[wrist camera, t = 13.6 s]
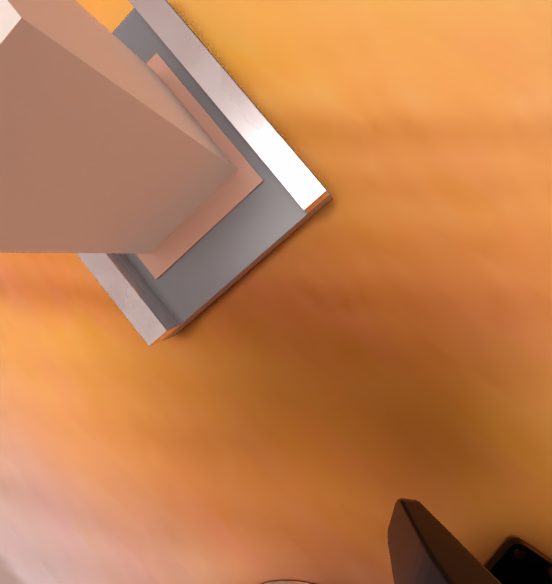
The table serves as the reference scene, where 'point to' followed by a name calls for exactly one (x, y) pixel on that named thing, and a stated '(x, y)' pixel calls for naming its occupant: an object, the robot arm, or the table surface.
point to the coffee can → (286, 582)
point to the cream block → (91, 139)
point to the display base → (223, 202)
